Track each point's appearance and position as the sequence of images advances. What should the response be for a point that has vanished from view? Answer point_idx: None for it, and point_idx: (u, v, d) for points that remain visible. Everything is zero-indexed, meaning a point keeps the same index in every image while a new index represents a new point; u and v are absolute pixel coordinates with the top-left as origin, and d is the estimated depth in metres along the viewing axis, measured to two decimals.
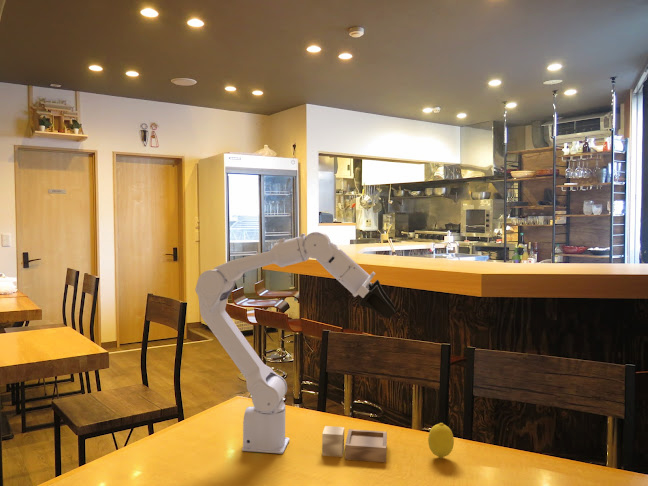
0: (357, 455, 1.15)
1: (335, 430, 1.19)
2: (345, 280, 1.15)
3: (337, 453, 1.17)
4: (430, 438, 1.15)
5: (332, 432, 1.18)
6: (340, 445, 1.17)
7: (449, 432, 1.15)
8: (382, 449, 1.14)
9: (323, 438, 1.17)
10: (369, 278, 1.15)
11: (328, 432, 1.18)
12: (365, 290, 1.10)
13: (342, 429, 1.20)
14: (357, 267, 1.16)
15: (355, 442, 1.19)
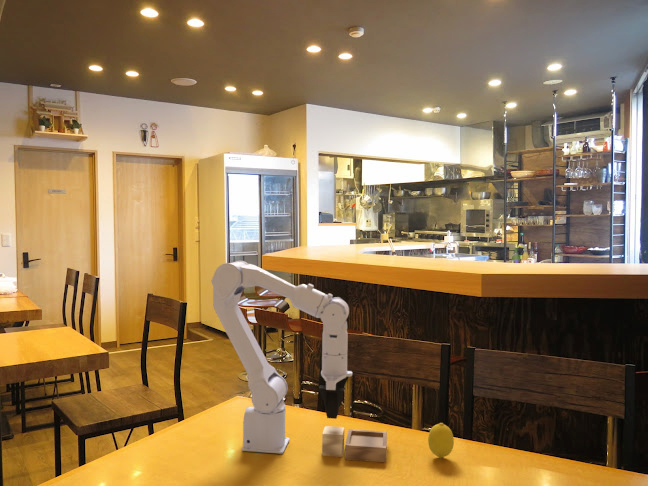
0: (357, 455, 1.15)
1: (335, 430, 1.19)
2: (327, 359, 1.16)
3: (337, 453, 1.17)
4: (430, 438, 1.15)
5: (332, 432, 1.18)
6: (340, 445, 1.17)
7: (449, 432, 1.15)
8: (382, 449, 1.14)
9: (323, 438, 1.17)
10: (344, 376, 1.16)
11: (328, 432, 1.18)
12: (333, 386, 1.11)
13: (342, 429, 1.20)
14: (345, 359, 1.17)
15: (355, 442, 1.19)
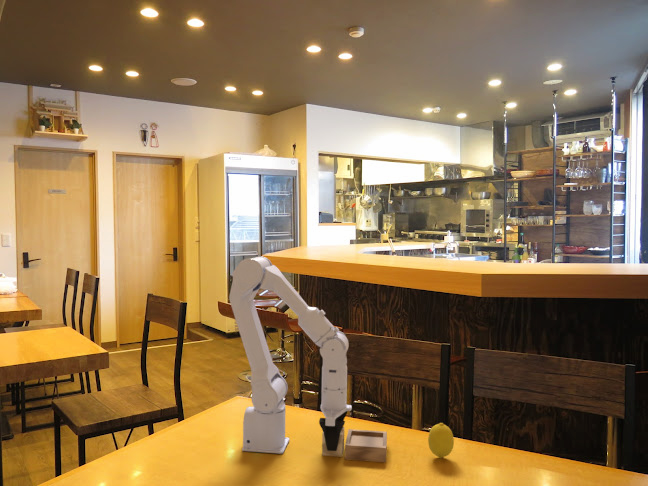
0: (357, 455, 1.15)
1: None
2: (326, 394, 1.16)
3: (337, 453, 1.17)
4: (430, 438, 1.15)
5: None
6: (340, 445, 1.17)
7: (449, 432, 1.15)
8: (382, 449, 1.14)
9: (323, 438, 1.17)
10: (344, 410, 1.16)
11: None
12: (332, 423, 1.12)
13: (342, 429, 1.20)
14: (344, 394, 1.17)
15: (355, 442, 1.19)
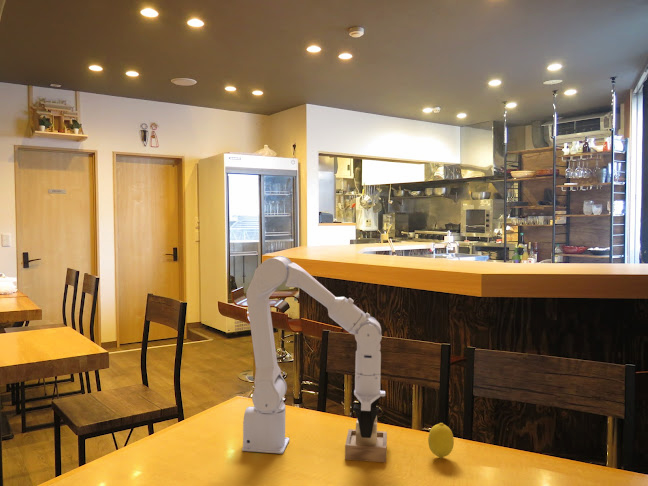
0: (357, 455, 1.15)
1: None
2: (361, 379, 1.16)
3: (371, 442, 1.17)
4: (430, 438, 1.15)
5: None
6: (374, 434, 1.17)
7: (449, 432, 1.15)
8: (382, 449, 1.14)
9: (357, 427, 1.17)
10: (378, 396, 1.16)
11: None
12: (368, 407, 1.11)
13: (375, 419, 1.19)
14: (378, 379, 1.17)
15: (355, 442, 1.19)
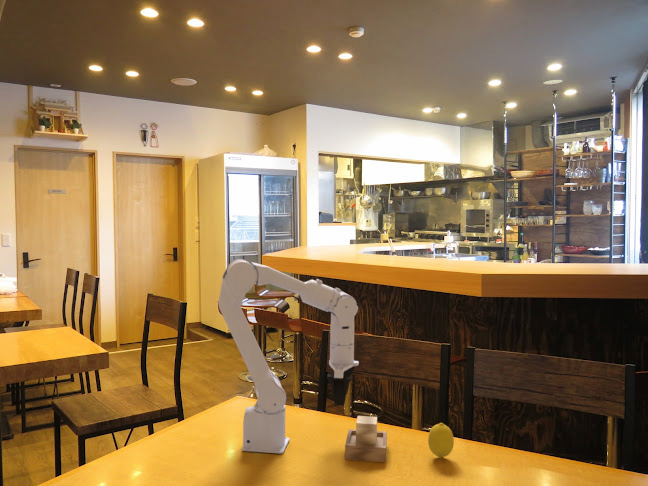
0: (357, 455, 1.15)
1: (369, 419, 1.19)
2: (335, 349, 1.22)
3: (371, 442, 1.17)
4: (430, 438, 1.15)
5: (366, 422, 1.18)
6: (374, 434, 1.17)
7: (449, 432, 1.15)
8: (382, 449, 1.14)
9: (357, 427, 1.17)
10: (351, 365, 1.22)
11: (362, 422, 1.17)
12: (341, 375, 1.18)
13: (375, 419, 1.19)
14: (351, 349, 1.23)
15: (355, 442, 1.19)
